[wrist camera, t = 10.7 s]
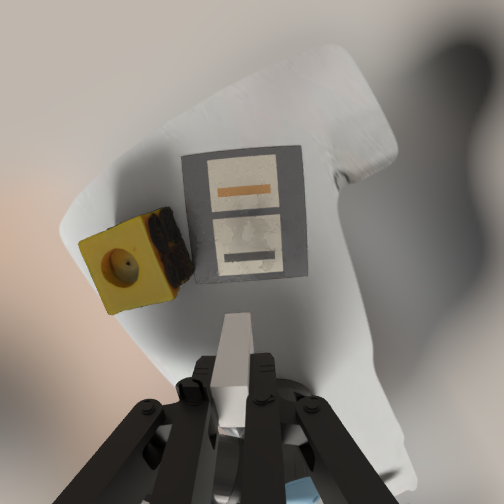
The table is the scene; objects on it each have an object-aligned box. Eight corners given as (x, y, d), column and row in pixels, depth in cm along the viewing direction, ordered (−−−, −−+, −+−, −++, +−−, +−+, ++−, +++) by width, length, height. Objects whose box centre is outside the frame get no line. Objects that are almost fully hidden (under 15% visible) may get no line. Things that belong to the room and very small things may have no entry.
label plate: (307, 275, 39) (307, 275, 39) (196, 283, 40) (196, 283, 40) (301, 146, 35) (301, 145, 35) (181, 156, 35) (181, 156, 35)
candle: (196, 271, 39) (178, 301, 30) (138, 289, 40) (109, 319, 31) (171, 203, 37) (143, 212, 27) (113, 227, 38) (75, 242, 28)
